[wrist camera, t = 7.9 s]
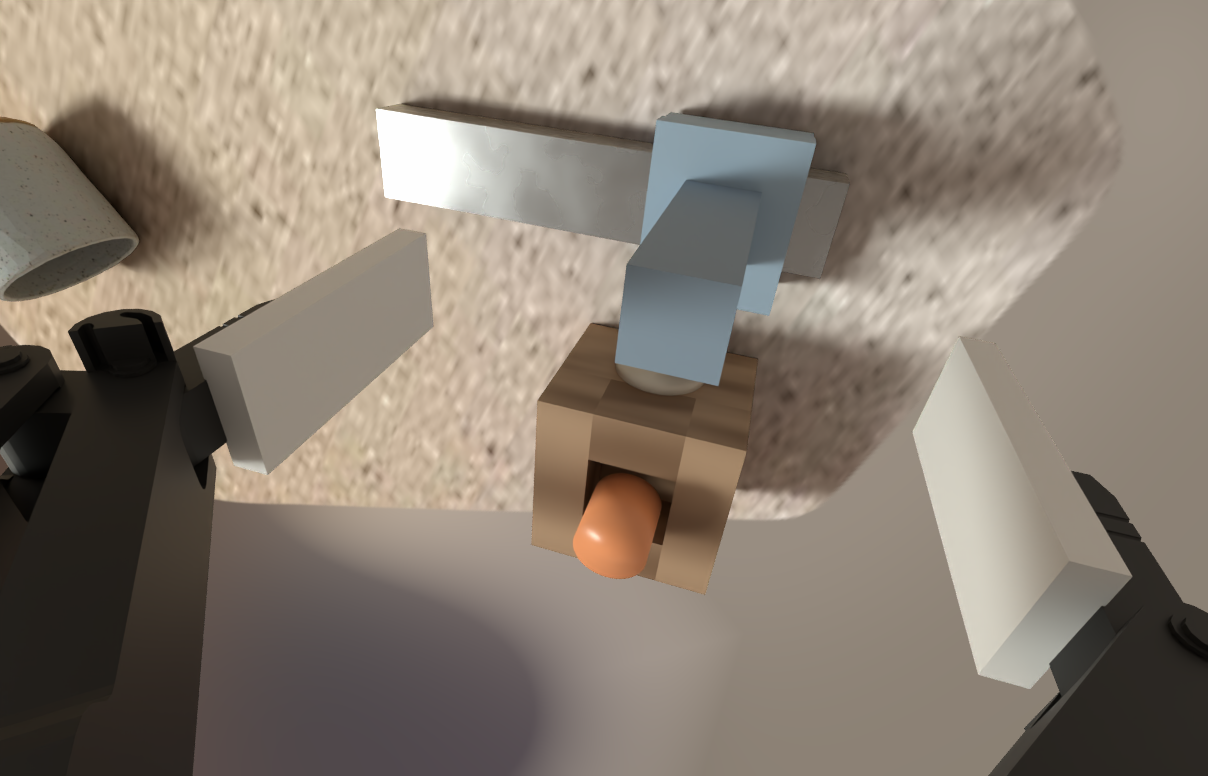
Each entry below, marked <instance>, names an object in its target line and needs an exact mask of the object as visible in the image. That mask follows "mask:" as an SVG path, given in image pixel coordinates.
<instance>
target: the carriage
mask: <svg viewBox="0 0 1208 776" xmlns="http://www.w3.org/2000/svg"><path fill="white" fill-rule="evenodd" d="M815 147H816V139H815V138H814V133H809V132H802V131H795V130H788V129H782V128H775V127H768V126H761V125H754V124H747V123H741V122H734V121H727V120H720V119H713V118H706V117H699V116H693V115H686V114H679V113H672V112H671V113H669V114H668V115H666V116H662V117H660V118H659V119H657V121H656V129H655V136H654V144H653V151H652V159H651V166H650V174H649V181H648V189H647V196H646V204H645V211H644V219H643V226H642V234H641V241H640V246H639V247H638V249H637V250H636V252H635V253H634V255H633V256H632V257H631V259H630V260H629V262H628V263H627V266H626V274H625V283H624V291H623V299H622V307H621V315H620V323H619V332H618V340H617V348H616V356H615V363H617V364H622V365H626V366H631V367H635V368H640V369H644V370H648V371H653V372H657V373H662V374H666V375H671V376H675V377H680V378H684V379H688V380H693V381H697V382H702V383H706V384H711V385H715V386H718V385H719V381H720V377H721V373H722V368H723V364H724V360H725V356H726V352H727V348H728V343H729V339H730V335H731V331H732V327H733V323H734V318H735V314H736V310H737V309H738V310H743V311H748V312H753V313H758V314H763V315H768V316H769V315H770V311H771V307H772V304H773V300H774V296H775V293H776V289H777V286H778V282H779V278H780V275H781V271H782V267H783V264H784V260H785V256H786V253H787V249H788V245H789V242H790V238H791V234H792V231H793V227H794V223H795V220H796V216H797V213H798V209H799V205H800V202H801V198H802V194H803V191H804V187H805V183H806V180H807V176H808V172H809V169H810V165H811V161H812V158H813V154H814V150H815Z"/></svg>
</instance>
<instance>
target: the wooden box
mask: <svg viewBox="0 0 1208 776" xmlns="http://www.w3.org/2000/svg"><path fill="white" fill-rule="evenodd" d="M618 332H619V329H615V328H611V327H606V326H601V325H597V324H592V323H590V325H589V326H588V328H587V329H586V331H585V332H584V334H583V335H582V337H581V338H580V339H579V341H578V342H577V344H576V345H575V347H574V348H573V350H572V351H571V353H570V354H569V356H568V357H567V358H566V360H565V361H564V363H563V364H562V366H561V367H560V369H559V370H558V372H557V373H556V374H555V376H554V377H553V379H552V380H551V382H550V383H549V385H548V386H547V388H546V389H545V390H544V392H543V393H542V395H541V396H540V398H539V399H538V401H537V425H536V449H535V473H534V497H533V521H532V545H534V546H537V547H541V548H545V549H548V550H551V551H555V552H558V553H562V554H565V555H568V556H572V557H576V558H578V557H577V556H576V554H575V551H574V548H573V538H574V535H575V533H576V531H577V528H578V526H579V524H580V522H581V519H582V517H583V515H584V512H585V510H586V508H587V505H588V503H589V501H590V499H591V496H592V494H593V492H594V489H595V487H596V485H597V483H598V482H599V481H600V480H601V479H602V478H604V477H606V476H608V475H611V474H616V473H625V474H631V475H634V476H637V477H640V478H642V479H643V480H645V481H647V482H648V483H649V484H650V485H652V486H653V487H654V489H655V490H656V491H657V493H658V494H659V496H660V499H661V504H662V508H661V512H660V516H659V520H658V523H657V527H656V530H655V534H654V537H653V541H652V545H651V548H650V552H649V555H648V559H647V562H646V566H645V567H644V569H643V570H642V571H641V572H640V573H639V574H637V575H638V576H642V577H645V578H648V579H652V580H656V581H659V582H662V583H666V584H669V585H673V586H676V587H680V588H683V589H687V590H690V591H694V592H697V593H701V594H704V595H705V593H706V590H707V586H708V583H709V579H710V576H711V572H712V569H713V565H714V562H715V559H716V555H717V552H718V548H719V545H720V541H721V538H722V535H723V531H724V528H725V524H726V521H727V518H728V514H729V511H730V507H731V504H732V500H733V497H734V494H735V490H736V487H737V483H738V480H739V476H740V473H741V469H742V466H743V463H744V459H745V456H746V452H747V445H748V437H749V429H750V420H751V412H752V404H753V395H754V387H755V378H756V370H757V362H758V359H755V358H751V357H746V356H741V355H737V354H732V353H727V352H726V356H725V360H724V364H723V368H722V373H721V377H720V381H719V385H718V386H715V385H711V384H706V383H702V382H697V381H693V380H688V379H684V378H680V377H675V376H671V375H666V374H662V373H657V372H653V371H648V370H644V369H640V368H635V367H631V366H626V365H622V364H617V363H615V356H616V348H617V340H618Z"/></svg>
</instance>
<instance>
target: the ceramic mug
mask: <svg viewBox="0 0 1208 776" xmlns="http://www.w3.org/2000/svg"><path fill="white" fill-rule="evenodd" d="M138 244H139V239H138V236H137V235H136V233H135V232H134V231H133V230H132V229H131V228H130V226H129V225H128V224H127V223H126V222H125V221H124V220H123V219H122V217H121V216H120V215H119V214H118V213H117V212H116V210H115V209H114V208H113V207H112V206H111V205H110V203H109V202H108V201H107V200H106V199H105V198H104V196H103V195H102V194H101V193H100V192H99V191H98V190H97V189H96V188H95V186H94V185H93V184H92V183H91V182H90V181H89V180H88V179H87V178H86V176H85V175H84V174H83V173H82V171H81V170H80V169H79V168H78V167H77V165H76V164H75V163H74V162H73V161H72V160H71V158H70V157H69V156H68V155H67V154H66V153H65V151H64V150H63V149H62V148H61V147H60V146H59V145H58V144H57V143H56V142H55V141H54V140H52V139H51V138H50V137H49V136H48V135H47V134H46V133H45V132H43V131H42V130H40V129H39V128H38V127H36V126H35V125H33V124H30V123H28V122H26V121H22V120H17V119H12V118H7V117H0V299H1V300H3V301H24V300H31V299H36V298H39V297H43V296H47V295H50V294H53V293H56V292H59V291H62V290H64V289H67V288H69V287H72V286H74V285H76V284H79V283H81V282H84V281H86V280H88V279H90V278H92V277H94V276H96V275H98V274H100V273H102V272H104V271H106V270H108V269H109V268H111V267H113V266H115V265H116V264H118V263H119V262H120V261H121V260H123V259H124V258H125V257H127V256H128V255H130V254H131V253H132V252H133V251H134V250H135V249H136V247H137V246H138Z"/></svg>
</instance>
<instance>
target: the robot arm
mask: <svg viewBox="0 0 1208 776" xmlns="http://www.w3.org/2000/svg"><path fill="white" fill-rule="evenodd" d="M432 327H433V314H432V301H431V289H430V277H429V264H428V252H427V240H426V233H422V232H416V231H411V230H406V229H401V228H399V229H397V230H396V231H394V232H392V233H390V234H389V235H387V236H385V237H383V238H382V239H380V240H378V241H376V242H375V243H373V244H371V245H369V246H368V247H366V248H364V249H362V250H361V251H359V252H357V253H355V254H354V255H352V256H350V257H348V258H347V259H345V260H343V261H341V262H340V263H338V264H336V265H334V266H333V267H331V268H329V269H327V270H326V271H324V272H322V273H320V274H319V275H317V276H315V277H313V278H312V279H310V280H308V281H306V282H305V283H303V284H301V285H299V286H298V287H296V288H294V289H292V290H291V291H289V292H287V293H285V294H284V295H282V296H280V297H278V298H277V299H274V300H271V301H268V302H264V303H261V304H258V305H256V306H254V307H252V308H250V309H249V310H247V311H245V312H243V313H241V314H240V315H238V318H235V317H234V318H233V319H231V320H229V321H227V322H225V323H224V324H223V326H222V327H220V326H218V327H217V328H215V329H213V330H211V331H209V332H208V333H206V334H204V335H202V336H201V337H199V338H197V339H195V340H193V341H192V342H190V343H188V344H186V345H185V346H183V347H181V348H179V349H178V350H176V351H173V348H172V346H171V343H170V340H169V337H168V335H167V332H166V329H165V327H164V324H163V321H162V319H161V316H160V315H159V314H157V313H155V312H153V311H149V310H143V309H121V310H115V311H109V312H104V313H101V314H98V315H94V316H91V317H88V318H86V319H84V320H82V321H80V322H78V323H76V324H75V325H74V326H73V327H72V328H71V329H70V330H69V331H68V333H69V335H70V337H71V339H72V341H73V344H74V346H75V348H76V350H77V352H78V354H79V356H80V358H81V360H82V362H83V365H84V367H85V369H86V371H65V370H60V369H59V367H58V365H57V364H56V362H55V360H54V358H53V356H52V354H51V352H50V350H49V349H47V348H44V347H41V346H34V345H19V346H11V345H10V346H3V347H0V454H1V455H2V457H3V459H4V460H5V462H6V463H7V465H8V468H7V469H6V471H5V472H4V473H3V474H2V475H1V476H0V776H193V775H192V774H193V763H194V750H195V737H196V724H197V710H198V698H199V685H200V672H201V659H202V646H203V634H204V621H205V608H206V595H207V582H208V569H209V556H210V543H211V531H212V517H213V505H214V492H215V479H216V466H215V462H214V459H213V457H212V453H213V452H214V451H216V450H217V449H218V448H220V447H221V446H222V445H223V444H225V443H227V446H228V449H229V452H230V455H231V458H232V461H233V463H234V466H237V467H241V468H244V469H248V470H251V471H255V472H258V473H262V474H266V475H268V474H269V473H271V472H272V471H273V470H274V469H275V468H276V467H277V466H278V465H279V464H281V463H282V462H283V461H284V460H285V459H286V458H287V457H288V456H289V455H291V454H292V453H293V452H294V451H295V450H296V449H297V448H298V447H300V446H301V445H302V444H303V443H304V442H305V441H306V440H307V439H308V438H310V437H311V436H312V435H313V434H314V433H315V432H316V431H317V430H318V429H320V428H321V427H322V426H323V425H324V424H325V423H326V422H327V421H329V420H330V419H331V418H332V417H333V416H334V415H335V414H336V413H337V412H339V411H340V410H341V409H342V408H343V407H344V406H345V405H346V404H347V403H349V402H350V401H351V400H352V399H353V398H354V397H355V396H356V395H357V394H359V393H360V392H361V391H362V390H363V389H364V388H365V387H366V386H368V385H369V384H370V383H371V382H372V381H373V380H374V379H375V378H376V377H378V376H379V375H380V374H381V373H382V372H383V371H384V370H385V369H386V368H388V367H389V366H390V365H391V364H392V363H393V362H394V361H395V360H397V359H398V358H399V357H400V356H401V355H402V354H403V353H404V352H405V351H407V350H408V349H409V348H410V347H411V346H412V345H413V344H414V343H415V342H417V341H418V340H419V339H420V338H421V337H422V336H423V335H424V334H425V333H427V332H428V331H429V330H430V329H431V328H432ZM913 436H914V440H915V444H916V447H917V451H918V455H919V458H920V462H921V465H922V469H923V472H924V476H925V480H926V484H927V488H928V491H929V495H930V499H931V502H932V506H933V510H934V513H935V517H936V521H937V524H938V528H939V532H940V536H941V539H942V543H943V547H944V550H945V554H946V557H947V561H948V565H949V569H950V572H951V576H952V580H953V583H954V587H955V591H956V594H957V598H958V602H959V605H960V609H961V613H962V616H963V620H964V624H965V628H966V631H967V635H968V639H969V642H970V646H971V650H972V653H973V657H974V661H975V664H976V668H977V671H978V674H979V675H982V676H985V677H989V678H993V679H996V680H1000V681H1003V682H1007V683H1010V684H1014V685H1018V686H1021V687H1025V688H1028V689H1030V688H1031V687H1032V686H1033V685H1034V684H1035V683H1036V682H1037V681H1038V680H1039V679H1040V677H1041V676H1042V675H1043V674H1044V673H1045V672H1046V671H1047V670H1048V669H1049V668H1051V670H1052V673H1053V676H1054V678H1055V681H1056V683H1057V686H1058V689H1059V691H1060V692H1059V693H1058V694H1057V695H1056V696H1055V697H1054V698H1053V699H1052V700H1051V701H1050V702H1049V703H1048V704H1047V705H1046V706H1045V707H1044V708H1043V709H1042V711H1040V712H1039V714H1038V715H1037V716H1036V717H1035V718H1034V719H1033V720H1032V721H1031V722H1030V723H1029V724H1028V725H1027V726H1026V727H1025V728H1024V729H1025V730H1026V731H1025V732H1024V733H1023V735H1022V736H1021V737H1020V738H1019V739H1018V741H1017V742H1016V743H1015V744H1014V745H1013V747H1012V748H1011V749H1010V750H1009V751H1008V753H1007V754H1006V755H1005V756H1004V757H1003V759H1002V760H1001V761H1000V762H999V763H998V765H997V766H996V767H995V768H994V769H993V771H992V772H991V773H990V774H989V775H988V776H1208V613H1207V612H1205V611H1203V610H1201V609H1199V608H1197V607H1195V606H1192V605H1189V604H1186V603H1183V602H1182V600H1181V598H1180V597H1179V595H1178V594H1177V592H1176V591H1175V589H1174V587H1173V586H1172V585H1171V583H1170V581H1169V580H1168V578H1167V577H1166V575H1165V573H1164V572H1163V570H1162V569H1161V567H1160V566H1159V564H1158V563H1157V561H1156V559H1155V558H1154V556H1153V555H1152V553H1151V552H1150V551H1149V549H1148V547H1147V546H1146V544H1145V543H1144V542H1141V536H1140V535H1139V533H1138V532H1137V530H1136V529H1135V527H1134V525H1133V524H1131V523H1129V518H1128V516H1127V515H1126V513H1125V512H1124V510H1123V508H1122V507H1121V505H1120V504H1119V502H1118V501H1117V499H1116V498H1115V496H1113V495H1112V494H1111V493H1110V492H1109V491H1108V490H1107V489H1106V488H1104V487H1103V486H1102V485H1101V484H1100V483H1099V482H1098V481H1096V480H1095V479H1094V478H1093V477H1092V476H1091V475H1088V474H1083V473H1079V472H1074V471H1070V469H1069V467H1068V466H1067V464H1066V462H1065V460H1064V459H1063V457H1062V455H1061V454H1060V452H1059V450H1058V449H1057V447H1056V445H1055V443H1054V442H1053V440H1052V438H1051V437H1050V435H1049V433H1048V432H1047V430H1046V428H1045V427H1044V425H1043V423H1042V421H1041V420H1040V418H1039V416H1038V414H1037V413H1036V411H1035V409H1034V408H1033V406H1032V404H1031V403H1030V401H1029V399H1028V397H1027V396H1026V394H1025V392H1024V391H1023V389H1022V387H1021V385H1020V384H1019V382H1018V380H1017V379H1016V377H1015V375H1014V373H1013V372H1012V370H1011V368H1010V367H1009V365H1008V363H1007V362H1006V360H1005V358H1004V357H1003V355H1002V353H1001V351H1000V350H999V348H998V346H997V345H996V343H993V342H987V341H982V340H977V339H972V338H967V337H961V336H959V337H958V339H957V341H956V343H955V346H954V348H953V350H952V352H951V354H950V356H949V358H948V360H947V362H946V364H945V366H944V368H943V370H942V372H941V374H940V376H939V378H938V380H937V382H936V384H935V387H934V389H933V391H932V393H931V395H930V397H929V399H928V401H927V403H926V405H925V407H924V409H923V411H922V413H921V415H920V417H919V420H918V421H917V423H916V426H915V428H914V430H913Z"/></svg>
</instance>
